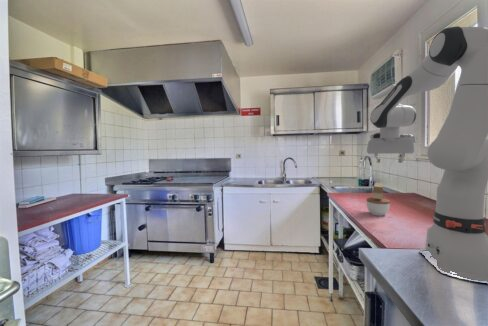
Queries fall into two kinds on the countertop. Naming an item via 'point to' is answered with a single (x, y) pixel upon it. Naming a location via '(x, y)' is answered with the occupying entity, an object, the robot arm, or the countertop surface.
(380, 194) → the beech block
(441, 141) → the robot arm
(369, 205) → the lidded jar
